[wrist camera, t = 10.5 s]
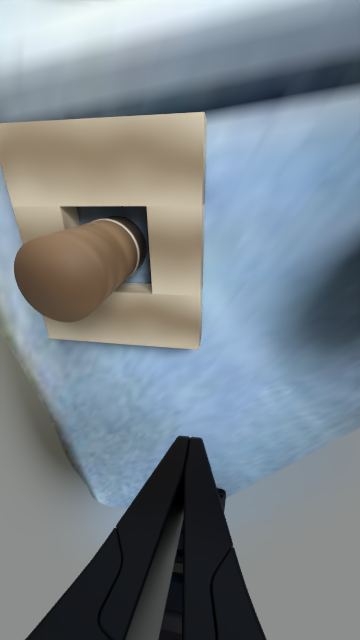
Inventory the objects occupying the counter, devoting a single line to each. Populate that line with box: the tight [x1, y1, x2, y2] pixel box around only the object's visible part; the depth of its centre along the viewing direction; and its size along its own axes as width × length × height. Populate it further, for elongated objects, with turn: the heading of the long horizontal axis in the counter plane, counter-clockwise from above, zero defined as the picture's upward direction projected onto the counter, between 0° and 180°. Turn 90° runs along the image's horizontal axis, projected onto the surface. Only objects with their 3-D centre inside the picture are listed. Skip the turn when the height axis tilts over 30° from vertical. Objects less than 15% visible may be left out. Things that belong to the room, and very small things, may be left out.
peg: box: [14, 216, 147, 322], centre depth 15 cm, size 4×4×8 cm
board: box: [0, 112, 207, 350], centre depth 18 cm, size 14×12×2 cm
